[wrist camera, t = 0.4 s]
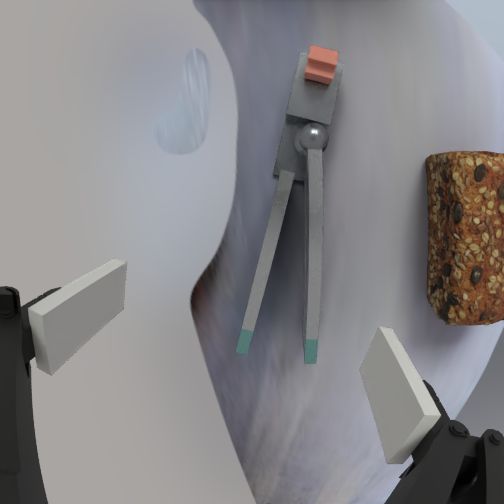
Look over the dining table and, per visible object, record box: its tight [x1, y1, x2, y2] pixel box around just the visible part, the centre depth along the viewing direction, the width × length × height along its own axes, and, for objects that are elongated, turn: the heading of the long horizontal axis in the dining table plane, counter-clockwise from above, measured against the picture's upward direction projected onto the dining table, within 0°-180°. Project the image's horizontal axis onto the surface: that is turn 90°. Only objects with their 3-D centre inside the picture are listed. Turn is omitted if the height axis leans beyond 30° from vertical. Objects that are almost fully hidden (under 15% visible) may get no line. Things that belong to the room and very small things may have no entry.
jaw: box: [299, 123, 329, 364], centre depth 30 cm, size 23×2×7 cm, turn 2°
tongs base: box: [236, 52, 344, 355], centre depth 30 cm, size 31×5×7 cm, turn 167°
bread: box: [426, 151, 504, 326], centre depth 27 cm, size 19×11×10 cm, turn 6°
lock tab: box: [304, 45, 339, 85], centre depth 24 cm, size 3×3×3 cm
